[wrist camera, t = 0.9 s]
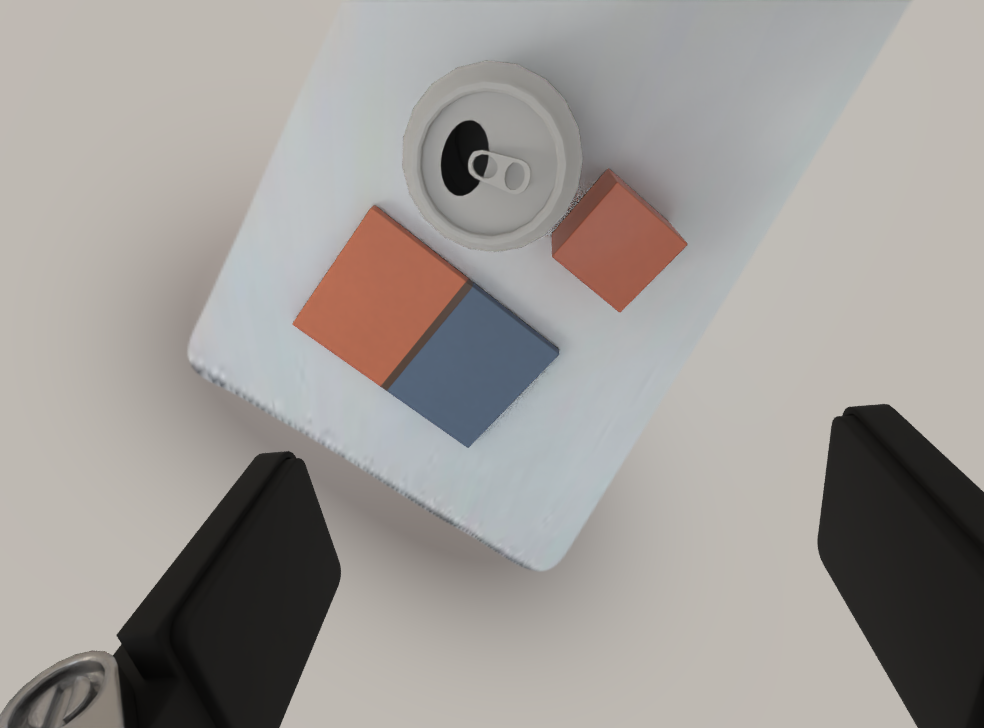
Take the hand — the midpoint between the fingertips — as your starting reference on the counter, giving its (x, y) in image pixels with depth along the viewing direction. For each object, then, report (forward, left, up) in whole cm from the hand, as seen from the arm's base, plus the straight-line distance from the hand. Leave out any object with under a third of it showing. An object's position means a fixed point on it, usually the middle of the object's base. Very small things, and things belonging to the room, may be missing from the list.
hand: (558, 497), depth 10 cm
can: (-1, -4, -27) cm, 27 cm away
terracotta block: (-1, +4, -27) cm, 27 cm away
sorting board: (+12, -1, -27) cm, 29 cm away
